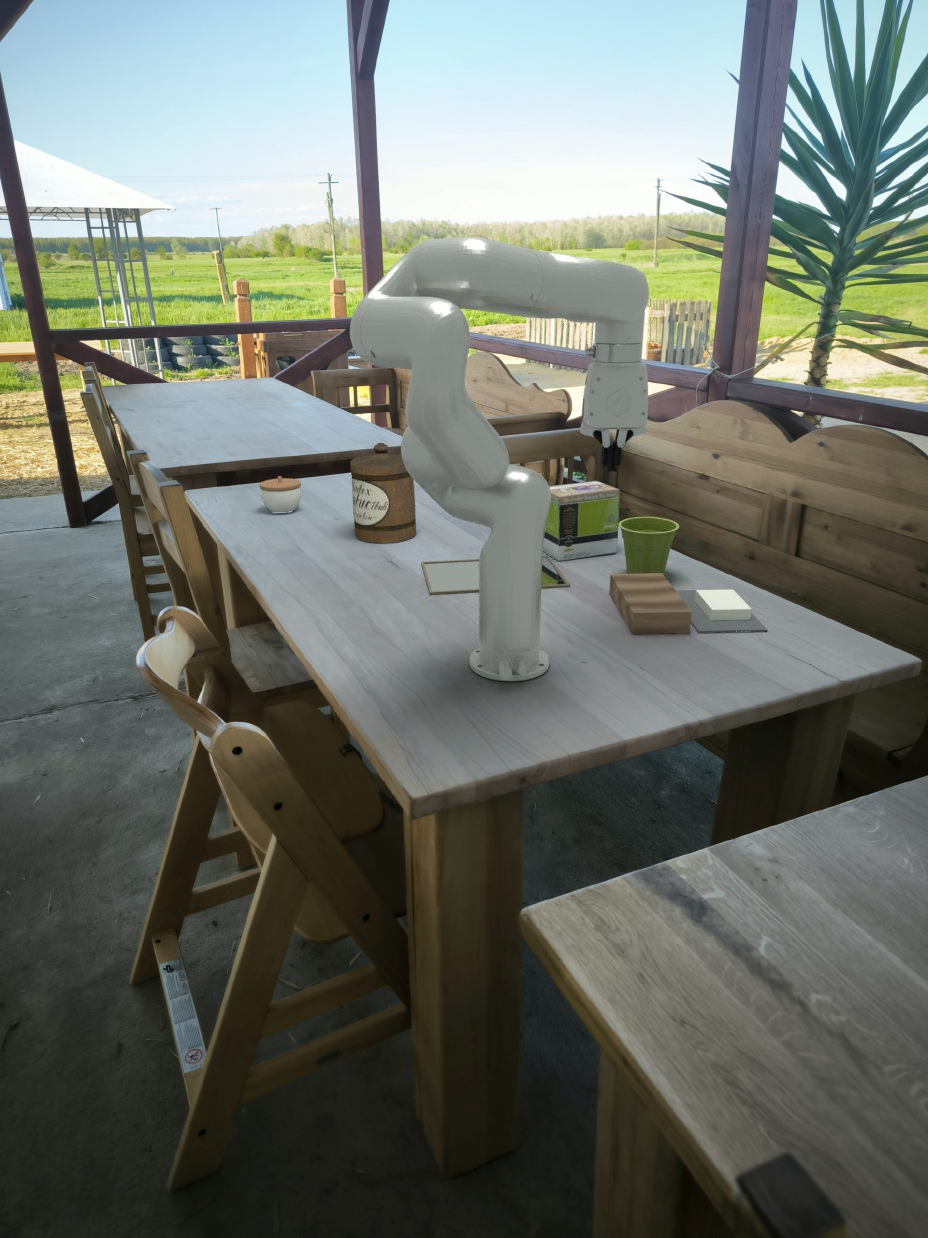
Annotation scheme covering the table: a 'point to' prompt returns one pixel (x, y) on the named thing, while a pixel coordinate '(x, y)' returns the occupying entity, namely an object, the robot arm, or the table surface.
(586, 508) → the tea box
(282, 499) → the lidded jar
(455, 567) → the picture frame
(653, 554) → the plant pot
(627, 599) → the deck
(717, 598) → the cream white slab
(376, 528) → the wooden container
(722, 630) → the mat
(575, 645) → the table surface
